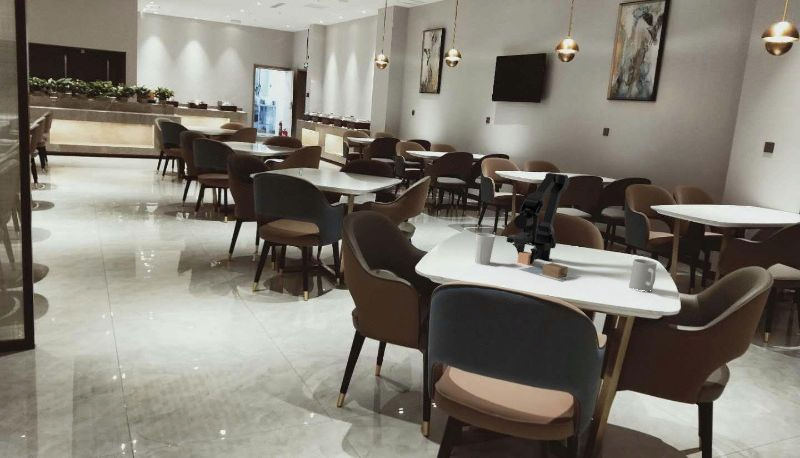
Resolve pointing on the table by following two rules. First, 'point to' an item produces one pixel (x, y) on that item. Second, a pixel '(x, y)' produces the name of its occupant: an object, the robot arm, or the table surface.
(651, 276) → the mug
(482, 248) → the cup
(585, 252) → the table surface
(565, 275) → the base block
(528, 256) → the top block
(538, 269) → the plate
